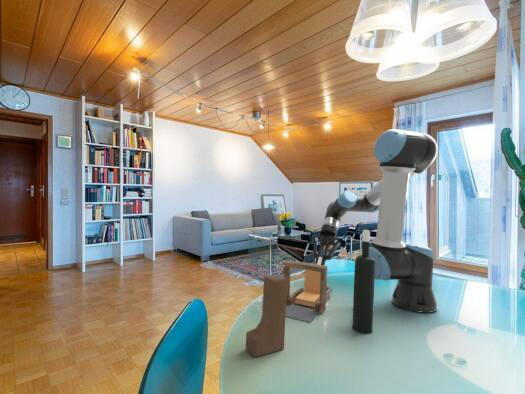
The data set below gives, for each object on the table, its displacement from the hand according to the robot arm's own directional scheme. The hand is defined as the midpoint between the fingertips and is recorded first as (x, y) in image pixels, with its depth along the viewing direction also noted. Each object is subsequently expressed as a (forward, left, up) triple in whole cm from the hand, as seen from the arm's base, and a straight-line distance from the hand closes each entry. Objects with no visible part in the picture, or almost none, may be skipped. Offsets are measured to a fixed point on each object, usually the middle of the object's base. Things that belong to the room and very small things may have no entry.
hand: (317, 271), depth 120 cm
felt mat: (-12, +23, -9) cm, 27 cm away
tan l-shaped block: (-6, +12, -9) cm, 16 cm away
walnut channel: (-7, +12, -9) cm, 16 cm away
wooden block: (-24, +47, -9) cm, 54 cm away
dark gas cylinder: (-31, +15, -9) cm, 36 cm away
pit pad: (0, -2, -9) cm, 9 cm away
